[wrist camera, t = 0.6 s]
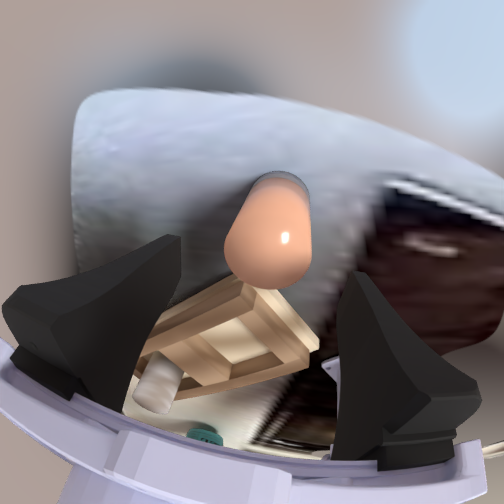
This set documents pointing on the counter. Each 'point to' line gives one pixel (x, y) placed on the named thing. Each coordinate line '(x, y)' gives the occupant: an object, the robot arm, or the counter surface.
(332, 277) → the counter surface
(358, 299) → the robot arm
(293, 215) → the peach rounded capsule
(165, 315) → the socket holder
